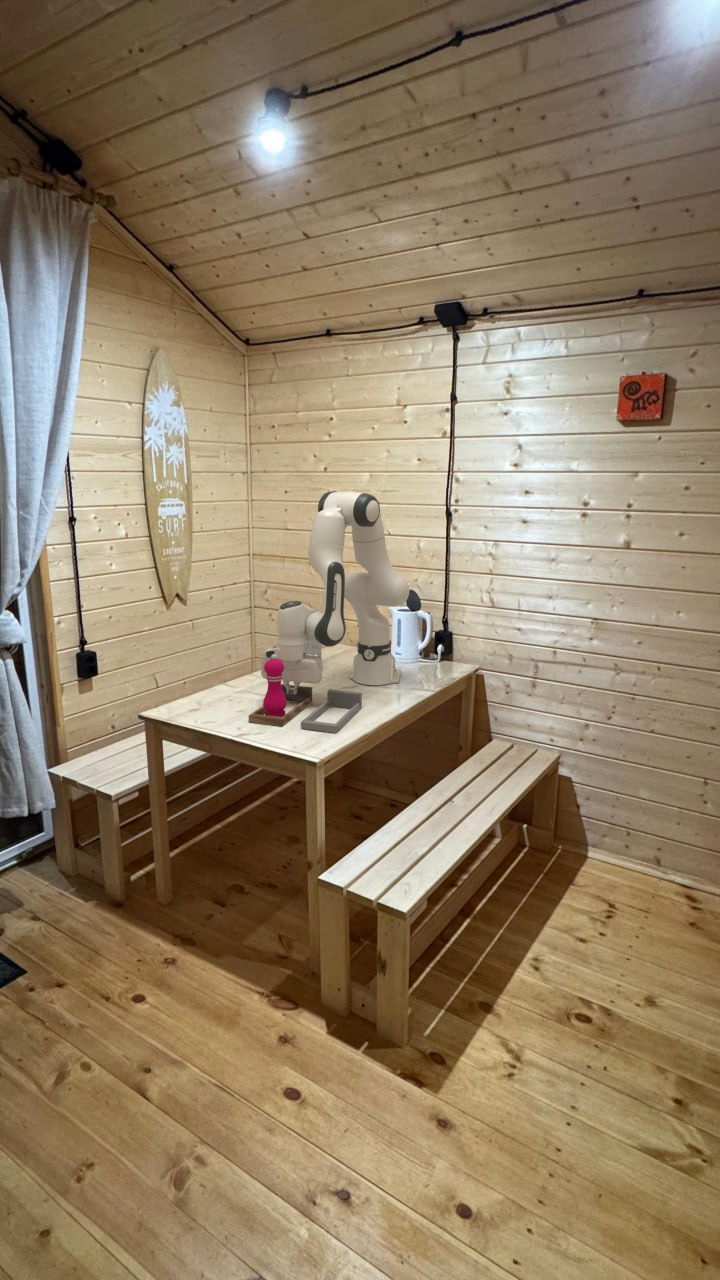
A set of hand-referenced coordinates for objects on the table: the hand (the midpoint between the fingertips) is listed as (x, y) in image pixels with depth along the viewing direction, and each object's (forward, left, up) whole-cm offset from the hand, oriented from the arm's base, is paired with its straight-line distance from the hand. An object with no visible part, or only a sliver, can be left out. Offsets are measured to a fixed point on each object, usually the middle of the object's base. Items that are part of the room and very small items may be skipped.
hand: (291, 693), depth 224 cm
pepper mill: (+13, 0, -4) cm, 13 cm away
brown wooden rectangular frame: (+8, 0, -4) cm, 8 cm away
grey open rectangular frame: (+8, +17, -4) cm, 19 cm away
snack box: (-48, -13, -4) cm, 50 cm away
